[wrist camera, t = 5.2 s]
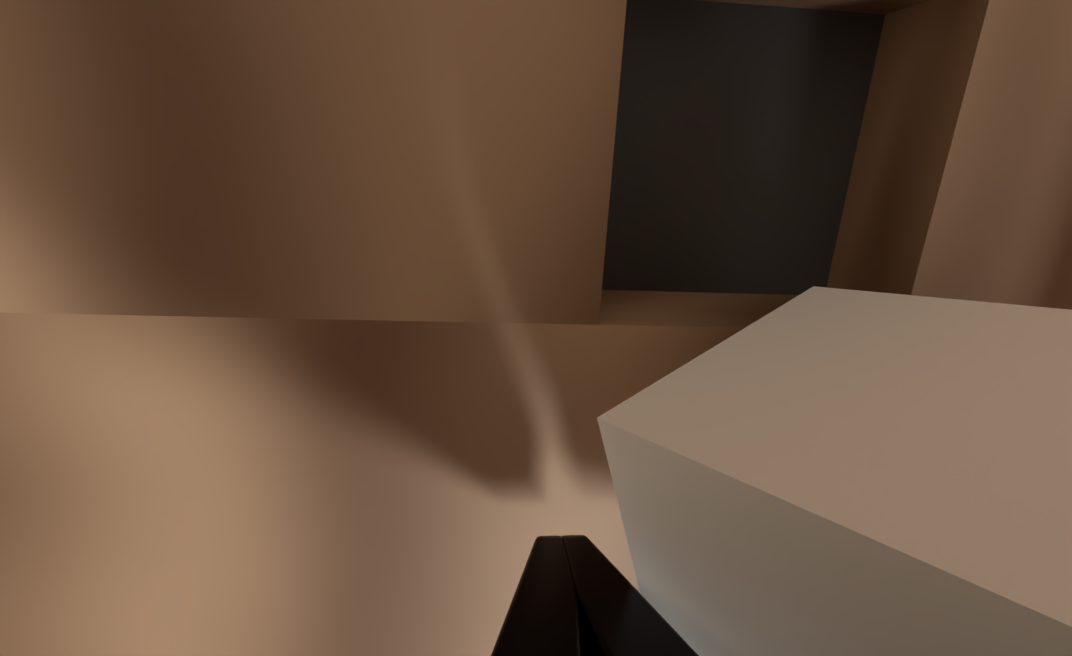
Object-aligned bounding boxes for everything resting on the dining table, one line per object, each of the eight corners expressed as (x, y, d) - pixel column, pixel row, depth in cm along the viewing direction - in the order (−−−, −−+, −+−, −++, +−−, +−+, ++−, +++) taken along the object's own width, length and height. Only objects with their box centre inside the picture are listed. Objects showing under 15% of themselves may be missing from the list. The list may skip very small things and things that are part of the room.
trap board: (1109, 2, 10) (1660, -120, 5) (872, 728, 16) (1038, 982, 11) (-105, -96, 8) (-903, -414, 4) (121, 765, 14) (-69, 1088, 9)
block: (813, 286, 9) (1291, 329, 5) (834, 517, 10) (1216, 683, 6) (596, 417, 7) (1139, 656, 3) (662, 684, 8) (1079, 1067, 4)
